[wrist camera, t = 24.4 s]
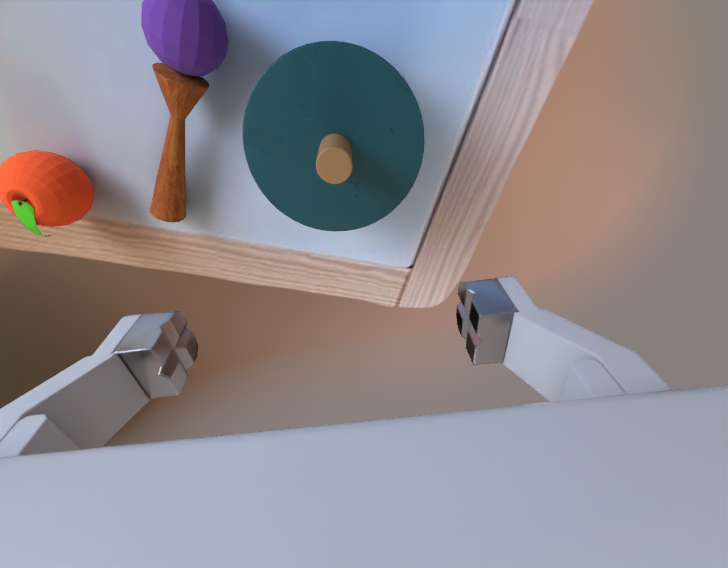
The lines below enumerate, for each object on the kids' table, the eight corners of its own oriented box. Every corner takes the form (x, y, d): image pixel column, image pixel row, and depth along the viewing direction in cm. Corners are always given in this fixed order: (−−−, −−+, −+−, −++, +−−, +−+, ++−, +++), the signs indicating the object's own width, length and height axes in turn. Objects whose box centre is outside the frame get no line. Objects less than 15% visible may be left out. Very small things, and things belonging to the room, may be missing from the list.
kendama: (120, 211, 34) (121, -45, 23) (158, 190, 39) (175, -30, 27) (179, 237, 35) (209, 2, 23) (209, 213, 40) (246, 9, 28)
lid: (221, 52, 23) (194, 55, 19) (422, 30, 23) (440, 28, 19) (270, 232, 31) (259, 263, 27) (420, 217, 31) (433, 245, 26)
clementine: (114, 224, 39) (74, 256, 33) (43, 210, 38) (-12, 241, 32) (103, 152, 35) (55, 175, 29) (23, 133, 33) (-45, 153, 27)
